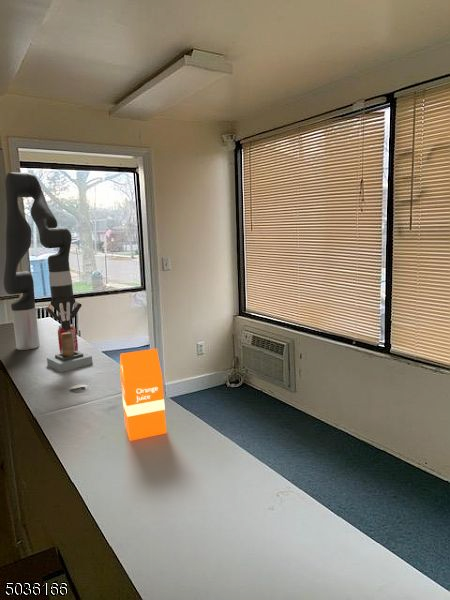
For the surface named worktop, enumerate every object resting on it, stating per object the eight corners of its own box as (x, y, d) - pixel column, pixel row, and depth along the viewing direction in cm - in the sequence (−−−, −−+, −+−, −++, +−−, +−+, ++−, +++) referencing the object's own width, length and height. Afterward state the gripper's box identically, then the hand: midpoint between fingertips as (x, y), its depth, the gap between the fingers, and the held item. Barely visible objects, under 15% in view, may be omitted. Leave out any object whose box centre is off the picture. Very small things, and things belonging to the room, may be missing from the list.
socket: (47, 365, 160) (46, 355, 160) (78, 357, 168) (77, 348, 168) (61, 372, 152) (59, 361, 151) (92, 363, 160) (91, 353, 159)
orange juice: (125, 427, 107) (117, 349, 103) (160, 420, 110) (154, 344, 106) (129, 441, 99) (122, 358, 96) (167, 433, 102) (160, 352, 99)
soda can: (66, 357, 169) (63, 328, 167) (56, 355, 173) (53, 326, 171) (82, 353, 175) (79, 324, 173) (72, 350, 179) (69, 322, 177)
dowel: (62, 365, 160) (58, 333, 158) (72, 362, 163) (69, 331, 161) (66, 367, 157) (63, 335, 155) (77, 364, 160) (73, 333, 158)
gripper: (76, 281, 162) (81, 325, 164) (39, 285, 154) (45, 331, 157) (82, 282, 155) (87, 329, 158) (43, 286, 148) (49, 335, 151)
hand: (66, 330), depth 158 cm, fingers closed
